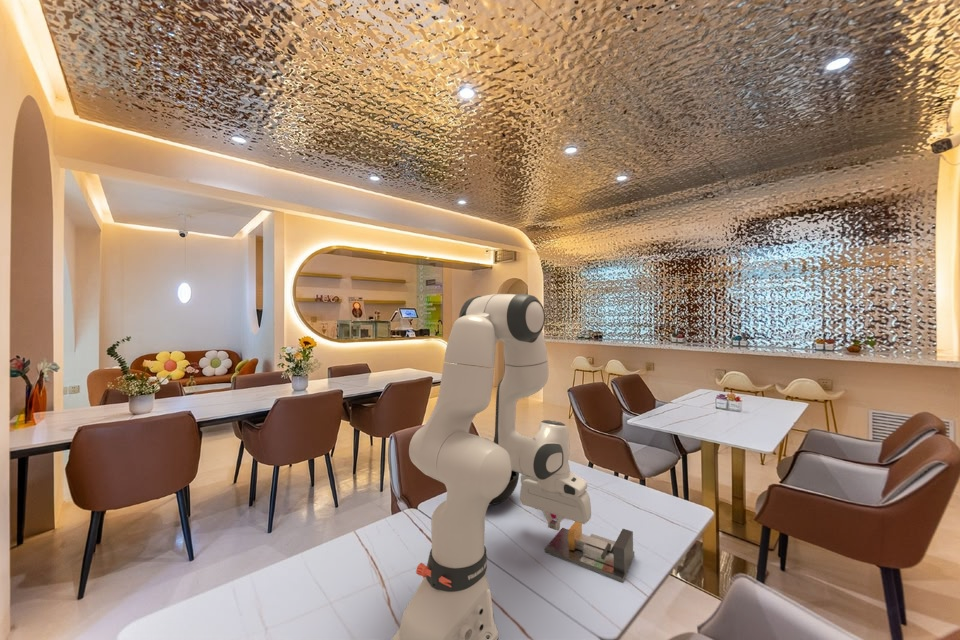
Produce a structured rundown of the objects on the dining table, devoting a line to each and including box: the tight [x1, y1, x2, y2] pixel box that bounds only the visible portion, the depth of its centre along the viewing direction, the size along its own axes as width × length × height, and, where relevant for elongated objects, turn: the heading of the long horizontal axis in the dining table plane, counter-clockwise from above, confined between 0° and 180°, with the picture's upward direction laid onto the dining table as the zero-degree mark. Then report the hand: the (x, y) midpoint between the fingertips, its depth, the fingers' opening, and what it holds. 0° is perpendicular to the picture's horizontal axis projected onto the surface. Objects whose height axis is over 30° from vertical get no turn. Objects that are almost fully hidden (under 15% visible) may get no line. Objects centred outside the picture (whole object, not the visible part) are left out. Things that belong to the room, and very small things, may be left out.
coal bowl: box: [489, 471, 520, 505], centre depth 126 cm, size 20×20×19 cm
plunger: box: [568, 521, 614, 559], centre depth 95 cm, size 9×11×5 cm
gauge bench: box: [544, 527, 635, 583], centre depth 97 cm, size 12×20×7 cm, turn 55°
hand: (553, 528), depth 102 cm, fingers closed
